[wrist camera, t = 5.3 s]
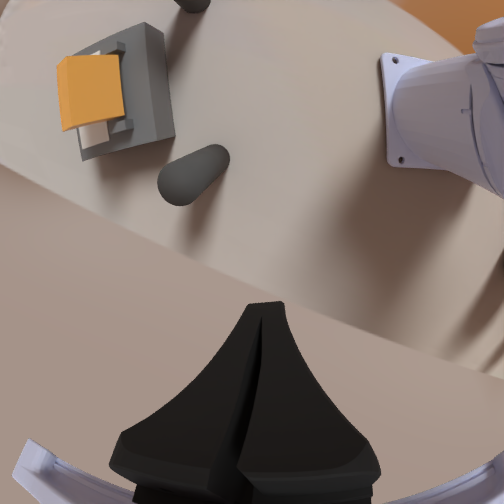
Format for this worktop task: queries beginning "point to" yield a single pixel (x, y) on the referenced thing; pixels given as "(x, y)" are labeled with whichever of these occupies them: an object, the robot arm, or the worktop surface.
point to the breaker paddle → (89, 90)
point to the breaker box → (133, 93)
